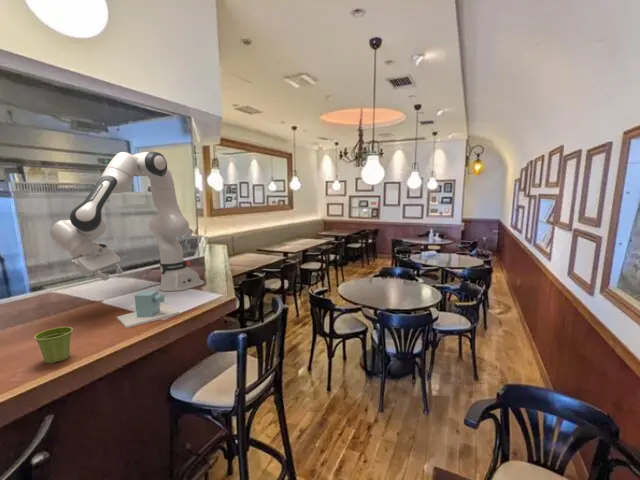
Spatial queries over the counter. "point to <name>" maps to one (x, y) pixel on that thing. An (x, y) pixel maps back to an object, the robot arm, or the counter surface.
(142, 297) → the light blue pegged cube
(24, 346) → the counter surface
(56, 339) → the plant pot
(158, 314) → the board
